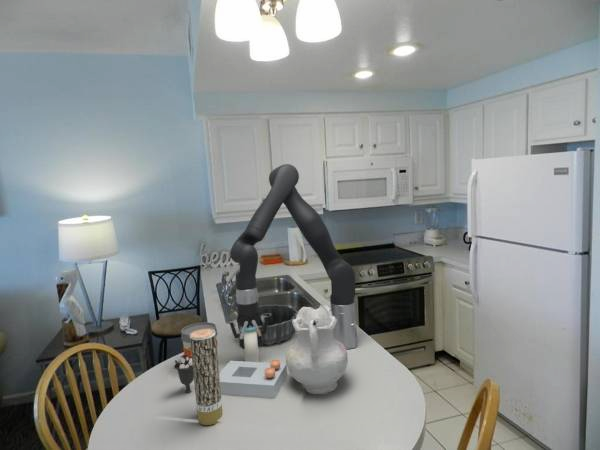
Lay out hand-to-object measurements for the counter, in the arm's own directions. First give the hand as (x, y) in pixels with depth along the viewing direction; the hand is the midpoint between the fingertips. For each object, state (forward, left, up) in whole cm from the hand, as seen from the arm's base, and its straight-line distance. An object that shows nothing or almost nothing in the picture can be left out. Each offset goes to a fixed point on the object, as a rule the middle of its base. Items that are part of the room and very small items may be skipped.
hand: (251, 346), depth 139 cm
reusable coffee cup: (+18, +3, -8) cm, 20 cm away
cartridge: (0, 0, -5) cm, 5 cm away
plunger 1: (-12, +16, -4) cm, 20 cm away
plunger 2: (-12, +10, -4) cm, 16 cm away
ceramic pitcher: (-26, +10, -8) cm, 29 cm away
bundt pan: (+3, -27, -8) cm, 28 cm away
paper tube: (+1, +31, -8) cm, 32 cm away
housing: (-5, +13, -8) cm, 16 cm away
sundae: (+14, +20, -8) cm, 26 cm away
